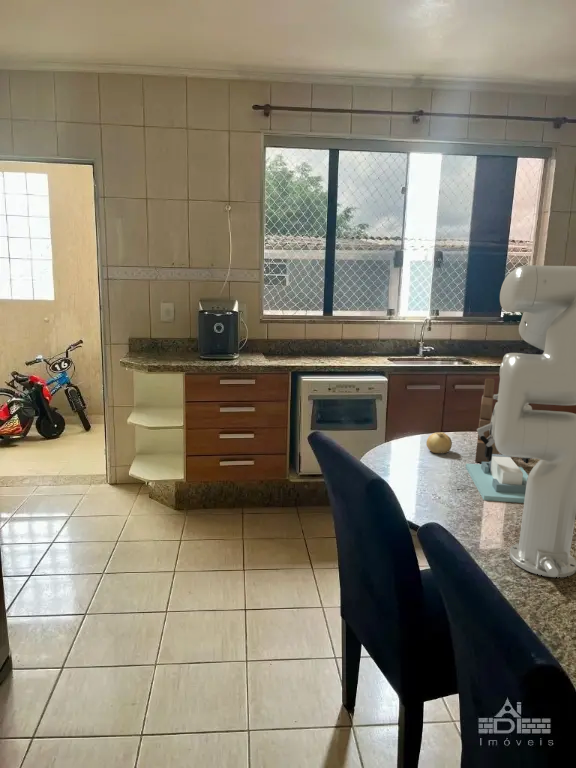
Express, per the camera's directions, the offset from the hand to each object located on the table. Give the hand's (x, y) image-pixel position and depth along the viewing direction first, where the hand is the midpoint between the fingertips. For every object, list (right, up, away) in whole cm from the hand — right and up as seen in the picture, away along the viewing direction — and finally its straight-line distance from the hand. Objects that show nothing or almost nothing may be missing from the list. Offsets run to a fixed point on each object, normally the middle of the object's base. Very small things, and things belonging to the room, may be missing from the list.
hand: (506, 460), depth 154 cm
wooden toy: (+4, -2, +25) cm, 26 cm away
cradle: (0, -7, +2) cm, 7 cm away
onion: (-11, -1, +28) cm, 30 cm away
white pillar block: (0, -6, +2) cm, 6 cm away
